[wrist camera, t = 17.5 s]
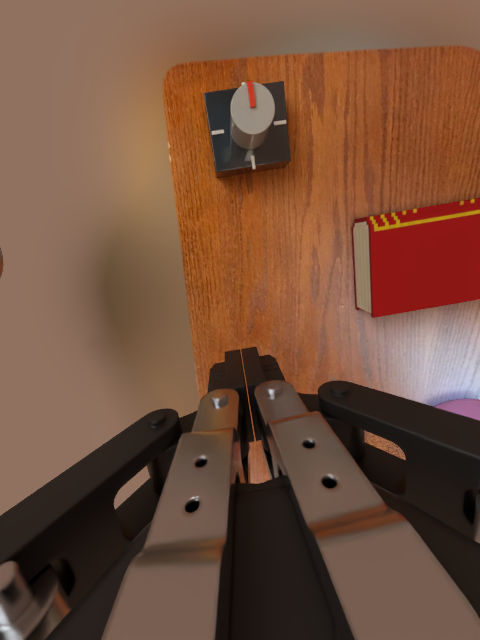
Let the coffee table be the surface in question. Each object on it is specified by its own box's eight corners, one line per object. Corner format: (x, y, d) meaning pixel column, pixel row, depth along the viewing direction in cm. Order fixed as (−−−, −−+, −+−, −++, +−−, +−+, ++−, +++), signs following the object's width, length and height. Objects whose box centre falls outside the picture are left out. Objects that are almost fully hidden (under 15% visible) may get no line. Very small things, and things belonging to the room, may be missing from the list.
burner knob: (270, 145, 32) (278, 129, 27) (233, 152, 32) (234, 136, 27) (265, 102, 31) (272, 76, 26) (226, 108, 30) (226, 84, 26)
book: (480, 198, 38) (518, 191, 33) (473, 288, 41) (507, 294, 36) (351, 220, 37) (370, 216, 33) (355, 309, 41) (373, 317, 36)
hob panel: (217, 180, 35) (216, 174, 32) (204, 103, 33) (202, 88, 30) (285, 170, 35) (291, 162, 32) (278, 91, 33) (283, 76, 30)
